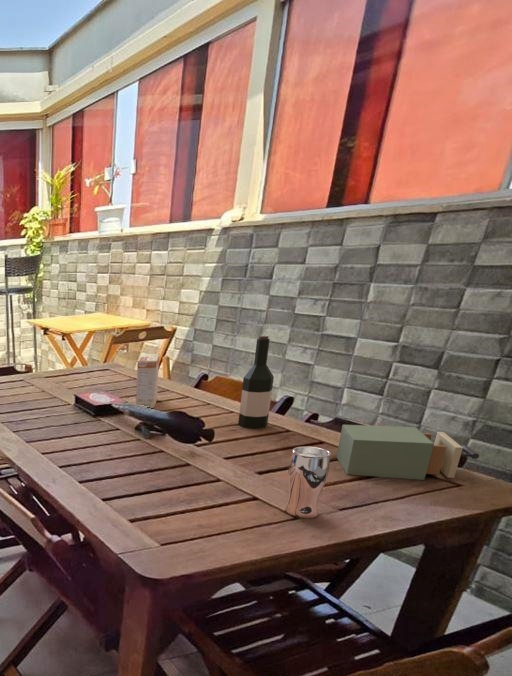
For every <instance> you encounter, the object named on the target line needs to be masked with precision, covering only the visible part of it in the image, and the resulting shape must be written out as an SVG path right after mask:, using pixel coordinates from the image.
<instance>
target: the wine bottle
mask: <svg viewBox="0 0 512 676" xmlns="http://www.w3.org/2000/svg"><path fill="white" fill-rule="evenodd" d="M270 340H271V339H270V338H269V336H268V335H259V336H258V338H257V339H256V345H255V353H254V359H253V360H254V362H253V365H252V367H251V368H250V369H249V370H248V371H247V373H246V374H245V375H244V376H243V381H242V387H241V388H242V389H241V397H240V405H239V412H238V413H239V414H238V423H237V425H238V426H239V425H240V427H242V428H244V427H245V428H244V429H252V430H257V429H265V428H266V427H267V426H268V422H269V415H270V407H271V400H272V393H273V385H274V378H275V376H274V375H273V373H272V371H271V370H270V368H269V366H268V365H267V363H268V355H269V348H270Z"/></svg>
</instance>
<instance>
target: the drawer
mask: <svg viewBox="0 0 512 676" xmlns="http://www.w3.org/2000/svg"><path fill="white" fill-rule="evenodd" d="M422 433H423V434H424V435H425V436H426V437H427V438H428V439H429V440H431V441H432V436H433V434H432V433H429V432H422ZM433 443H434V445H433V449H432V453H431V457H430V460H429V464H428V468H427V472H426V475H437V476H439V475H440V473H442V474H443V475H444V476H445V477H446V478H448V479H449V478H452V479H455V476H456V472H457V469H458V466H459V463H460V459H461V457H464V458H465V457H466V458H467V457H468V458H471V459H472V460H477V459H479V458H480V454H479V453H477V452H476V451H475V450H474V449H472V448H471V447H470V446H469V445H467V444H464V445H461V444H459V443H458V442H457V441H455V440H454V439H453V438H451V436H449V435H448V434H446V433H445V432H444V431H437V432H436V436H435V439H434V442H433ZM462 452H463V453H462Z"/></svg>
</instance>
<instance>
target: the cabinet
mask: <svg viewBox="0 0 512 676" xmlns="http://www.w3.org/2000/svg"><path fill="white" fill-rule="evenodd" d="M341 425H342V426H341V431H340V436H339V442H338V446H337V452H336V457H335V458H336V459H337V460H338V462H339V464H340V465H341V467H342V469H343V470H344V472H345V474H346V475H350V476H362V477H363V476H364V477H365V476H366V477H379V478H392V479H404V480H406V479H407V480H416V481H417V480H418V481H425V479H426V476H427V474H426V472H427V468H428V464H429V460H430V457H431V453H432V449H433V445H434V443H435V442H433V441H432V439H431V440H429V439H428V438H427V437H426V436H425V435H424V434H423V433H424V432H422V431H421V430H420V429H418V428H417V427H415V426H392V425H367V424H365V425H364V424H362V425H360V424H341Z"/></svg>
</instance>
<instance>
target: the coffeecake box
mask: <svg viewBox="0 0 512 676" xmlns="http://www.w3.org/2000/svg"><path fill="white" fill-rule="evenodd" d="M136 362H137V365H136V366H137V367H136V369H137V370H136V394H135V396H136V397H135V405H136V404H137V405H144V406H149V407H154V408H155V407H156V403H157V402H158V389H159V367H160V353H141V355H140V356H139V358H138V359H137V361H136Z"/></svg>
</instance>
